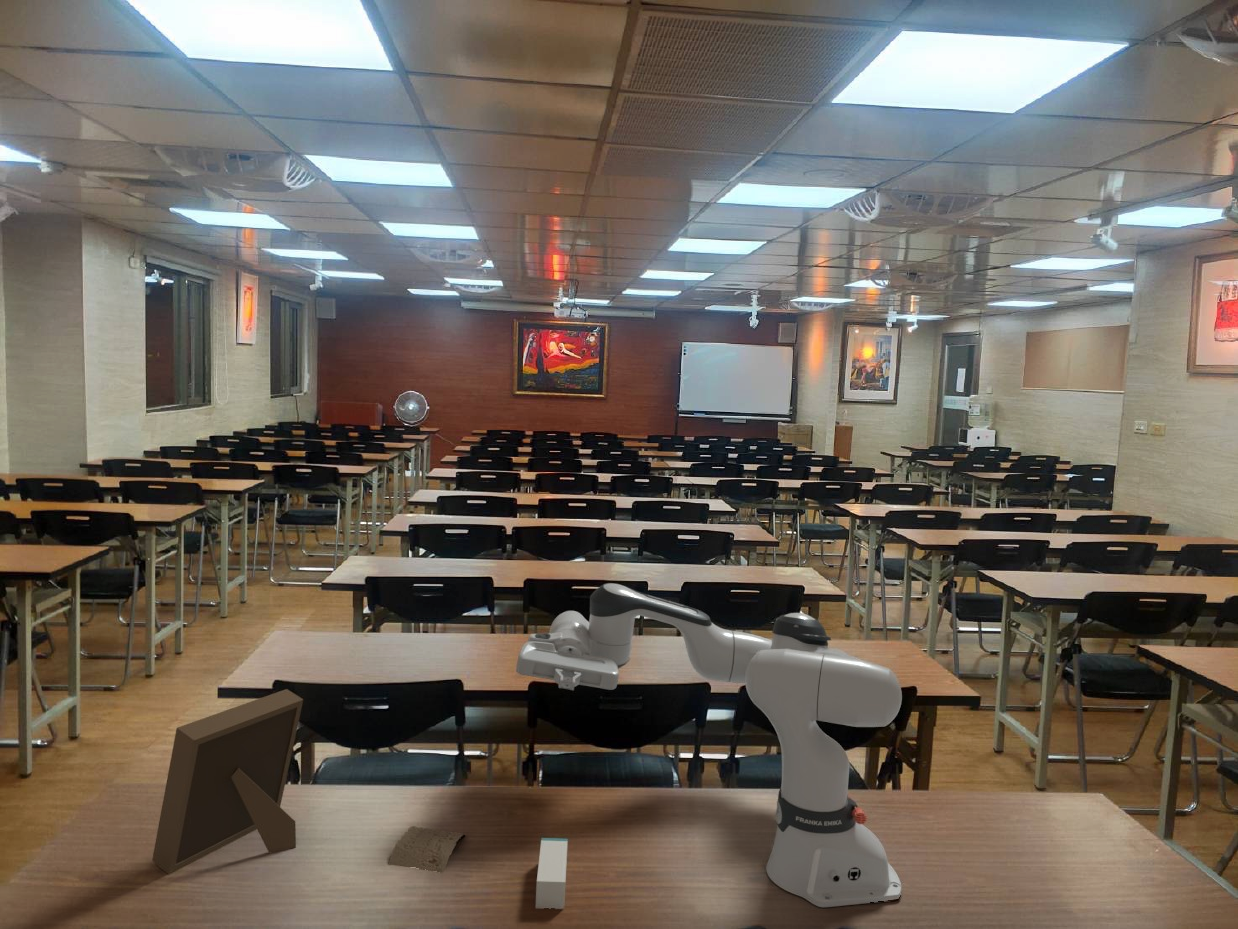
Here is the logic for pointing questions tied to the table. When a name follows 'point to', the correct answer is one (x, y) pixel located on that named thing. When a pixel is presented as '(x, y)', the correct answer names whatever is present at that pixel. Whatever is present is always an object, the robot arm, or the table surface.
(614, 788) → the table surface
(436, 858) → the clay tablet
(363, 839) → the table surface
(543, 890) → the block
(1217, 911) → the table surface
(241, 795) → the photo frame
